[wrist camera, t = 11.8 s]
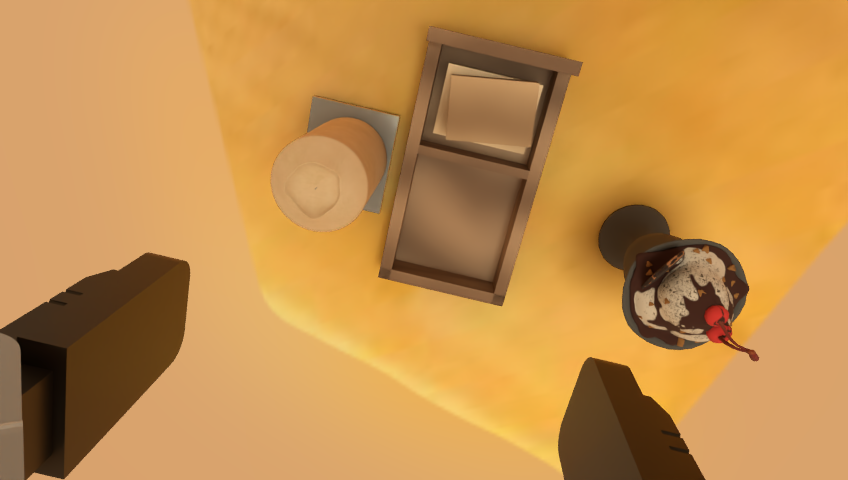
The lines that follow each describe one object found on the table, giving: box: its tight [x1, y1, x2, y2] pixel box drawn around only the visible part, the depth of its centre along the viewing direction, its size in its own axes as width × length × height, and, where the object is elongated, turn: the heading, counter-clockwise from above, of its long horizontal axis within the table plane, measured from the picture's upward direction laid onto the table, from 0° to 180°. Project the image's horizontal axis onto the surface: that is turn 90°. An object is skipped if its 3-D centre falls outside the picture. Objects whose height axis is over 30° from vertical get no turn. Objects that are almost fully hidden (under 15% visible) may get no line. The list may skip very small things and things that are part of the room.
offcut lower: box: [433, 62, 543, 154], centre depth 38 cm, size 4×6×2 cm
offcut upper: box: [446, 74, 540, 147], centre depth 36 cm, size 4×5×2 cm
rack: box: [378, 26, 583, 306], centre depth 38 cm, size 17×9×5 cm, turn 167°
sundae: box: [599, 205, 759, 361], centre depth 34 cm, size 7×7×15 cm
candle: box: [271, 117, 387, 232], centre depth 36 cm, size 6×6×10 cm
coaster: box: [307, 96, 400, 213], centre depth 41 cm, size 7×6×1 cm
